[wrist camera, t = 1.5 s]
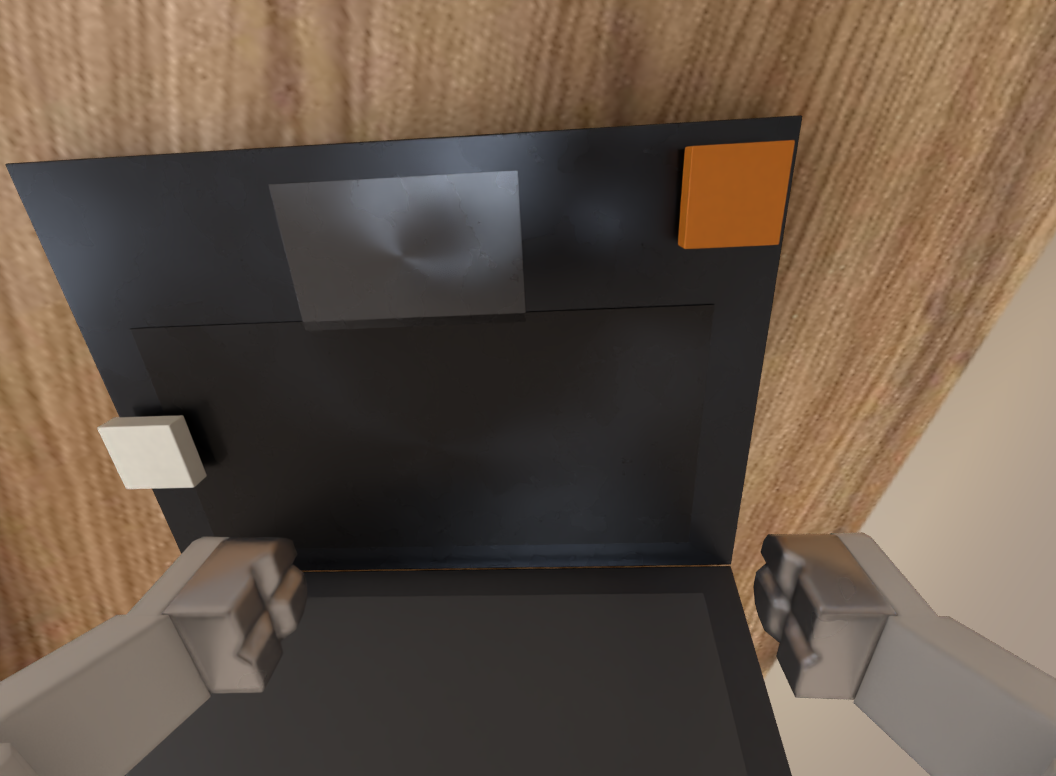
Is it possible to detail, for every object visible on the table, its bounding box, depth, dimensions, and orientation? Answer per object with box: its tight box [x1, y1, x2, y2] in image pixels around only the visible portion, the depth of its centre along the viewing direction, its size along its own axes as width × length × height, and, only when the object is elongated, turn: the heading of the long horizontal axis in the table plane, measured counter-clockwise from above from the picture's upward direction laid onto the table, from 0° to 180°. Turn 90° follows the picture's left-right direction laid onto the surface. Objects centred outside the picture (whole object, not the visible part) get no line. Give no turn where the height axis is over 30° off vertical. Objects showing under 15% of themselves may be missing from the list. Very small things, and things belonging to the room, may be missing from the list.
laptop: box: [6, 115, 802, 570], centre depth 23 cm, size 21×30×2 cm
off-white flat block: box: [97, 415, 207, 489], centre depth 23 cm, size 3×3×1 cm
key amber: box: [678, 140, 795, 249], centre depth 18 cm, size 3×3×1 cm
